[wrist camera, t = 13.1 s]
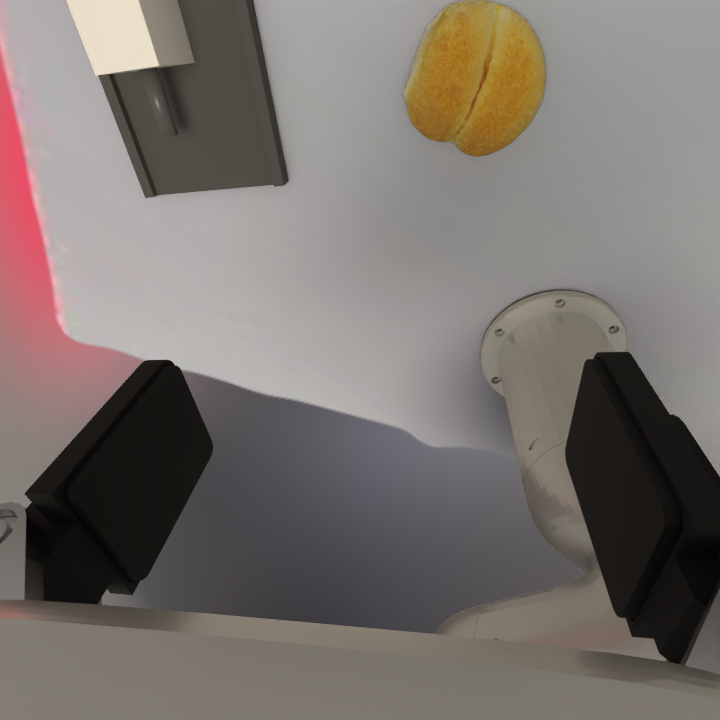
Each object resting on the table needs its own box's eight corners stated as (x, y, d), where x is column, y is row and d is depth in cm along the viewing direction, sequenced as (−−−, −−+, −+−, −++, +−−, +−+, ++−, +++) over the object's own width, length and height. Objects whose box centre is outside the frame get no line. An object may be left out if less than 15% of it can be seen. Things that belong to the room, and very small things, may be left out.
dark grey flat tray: (288, 180, 35) (283, 185, 34) (153, 193, 37) (145, 197, 36) (212, -203, 24) (202, -215, 23) (24, -155, 26) (6, -164, 25)
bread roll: (503, 165, 33) (511, 179, 30) (392, 120, 32) (388, 128, 29) (570, 36, 28) (588, 36, 25) (441, -22, 27) (442, -30, 24)
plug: (212, 126, 33) (182, 138, 29) (159, 132, 34) (122, 145, 30) (147, -108, 26) (95, -136, 22) (82, -94, 27) (20, -117, 23)
